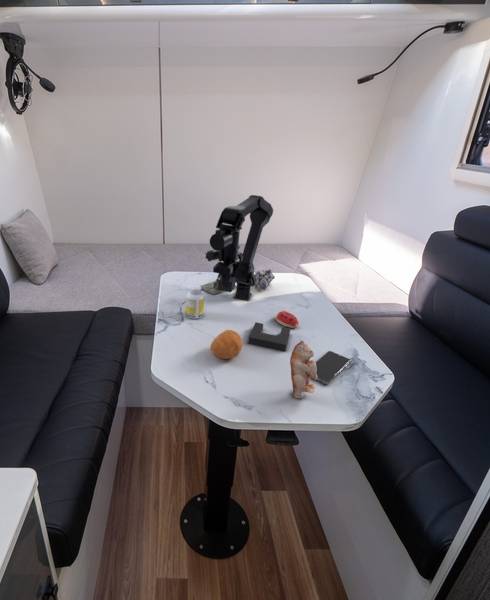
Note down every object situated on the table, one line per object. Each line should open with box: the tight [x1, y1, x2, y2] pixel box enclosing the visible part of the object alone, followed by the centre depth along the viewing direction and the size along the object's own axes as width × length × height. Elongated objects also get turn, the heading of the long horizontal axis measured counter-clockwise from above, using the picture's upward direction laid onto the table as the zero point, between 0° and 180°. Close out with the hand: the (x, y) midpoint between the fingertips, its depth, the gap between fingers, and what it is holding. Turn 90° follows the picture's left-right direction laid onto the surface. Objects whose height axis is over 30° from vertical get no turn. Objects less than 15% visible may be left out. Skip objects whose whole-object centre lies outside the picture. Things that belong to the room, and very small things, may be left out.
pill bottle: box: [185, 284, 205, 320], centre depth 138 cm, size 6×6×12 cm
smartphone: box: [314, 350, 352, 385], centre depth 111 cm, size 7×1×16 cm
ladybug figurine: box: [275, 310, 299, 329], centre depth 135 cm, size 7×10×4 cm
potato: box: [210, 329, 243, 360], centre depth 115 cm, size 9×11×8 cm
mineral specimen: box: [254, 268, 275, 291], centre depth 164 cm, size 12×9×10 cm
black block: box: [218, 277, 236, 293], centre depth 140 cm, size 5×5×4 cm
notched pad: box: [247, 321, 291, 352], centre depth 125 cm, size 11×12×2 cm
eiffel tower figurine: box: [200, 261, 237, 295], centre depth 161 cm, size 15×10×13 cm
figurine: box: [289, 340, 317, 399], centre depth 98 cm, size 6×8×15 cm
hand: (227, 283), depth 140 cm, fingers closed on black block, 5 cm apart
